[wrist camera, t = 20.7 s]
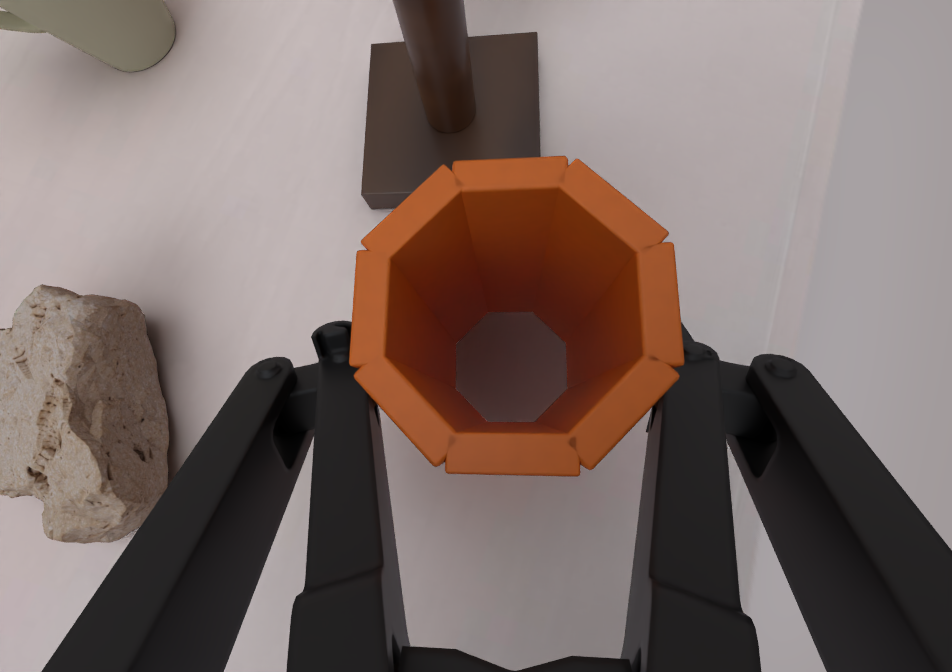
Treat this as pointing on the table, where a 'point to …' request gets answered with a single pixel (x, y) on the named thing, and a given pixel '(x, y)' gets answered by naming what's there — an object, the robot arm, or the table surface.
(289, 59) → the table surface
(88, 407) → the stone
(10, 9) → the mug
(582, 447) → the orange octagonal sleeve
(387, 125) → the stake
